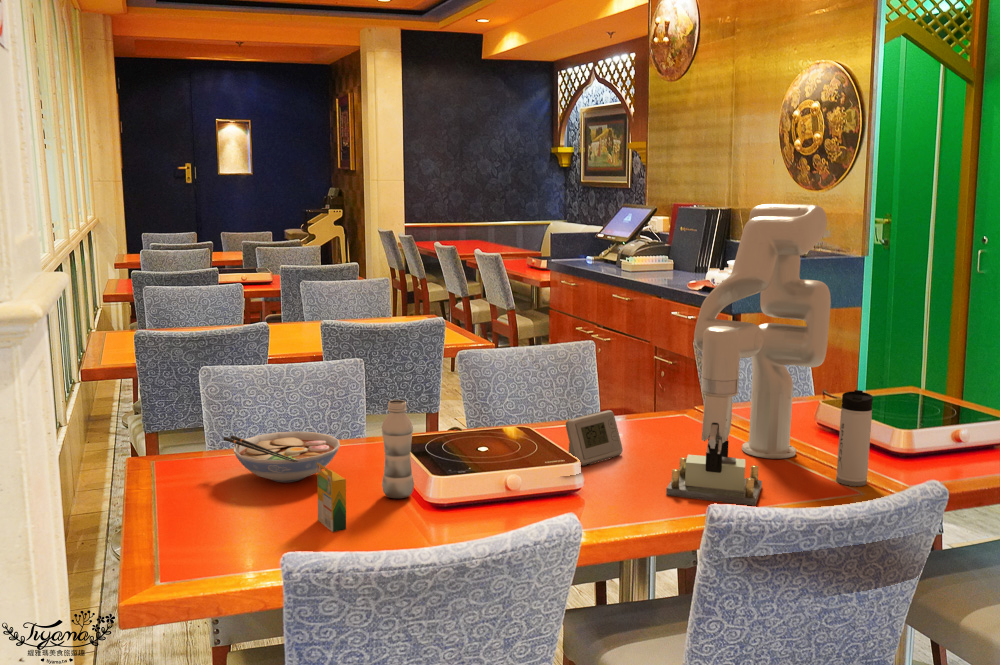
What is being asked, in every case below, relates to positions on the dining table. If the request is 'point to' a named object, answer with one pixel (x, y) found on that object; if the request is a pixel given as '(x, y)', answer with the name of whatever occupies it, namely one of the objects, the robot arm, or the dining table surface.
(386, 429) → the plastic bottle
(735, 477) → the cream rectangular block
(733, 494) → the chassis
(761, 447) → the robot arm
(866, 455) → the travel mug
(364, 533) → the dining table surface
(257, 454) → the ramen bowl
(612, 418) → the digital clock
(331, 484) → the crayon box
